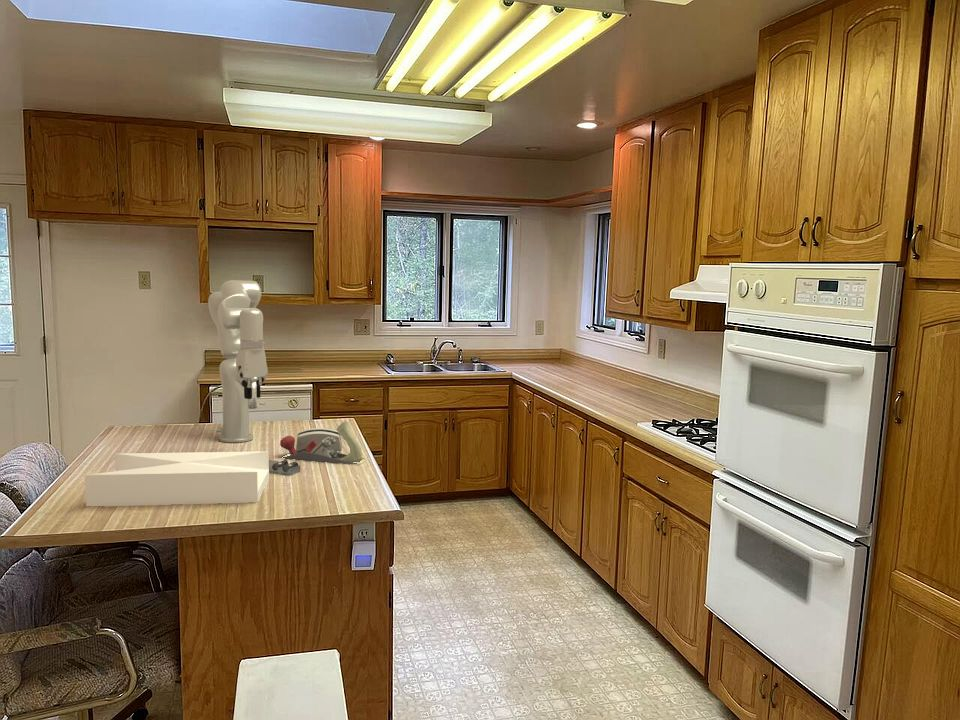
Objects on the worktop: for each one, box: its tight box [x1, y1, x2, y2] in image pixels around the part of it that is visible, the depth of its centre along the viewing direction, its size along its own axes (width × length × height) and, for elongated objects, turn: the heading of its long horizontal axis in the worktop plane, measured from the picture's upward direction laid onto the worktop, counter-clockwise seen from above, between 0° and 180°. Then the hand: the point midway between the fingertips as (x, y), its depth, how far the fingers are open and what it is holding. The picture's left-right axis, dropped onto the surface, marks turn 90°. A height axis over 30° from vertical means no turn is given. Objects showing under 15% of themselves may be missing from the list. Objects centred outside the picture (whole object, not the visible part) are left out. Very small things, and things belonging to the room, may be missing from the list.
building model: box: [84, 450, 270, 507], centre depth 198 cm, size 45×22×10 cm, turn 99°
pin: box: [248, 377, 258, 410], centre depth 234 cm, size 4×4×11 cm
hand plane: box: [279, 419, 364, 465], centre depth 237 cm, size 7×31×15 cm, turn 80°
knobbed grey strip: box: [269, 459, 301, 476], centre depth 226 cm, size 32×7×3 cm, turn 68°
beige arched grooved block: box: [295, 427, 343, 453], centre depth 248 cm, size 17×5×10 cm, turn 100°
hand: (252, 397), depth 234 cm, fingers closed on pin, 3 cm apart
